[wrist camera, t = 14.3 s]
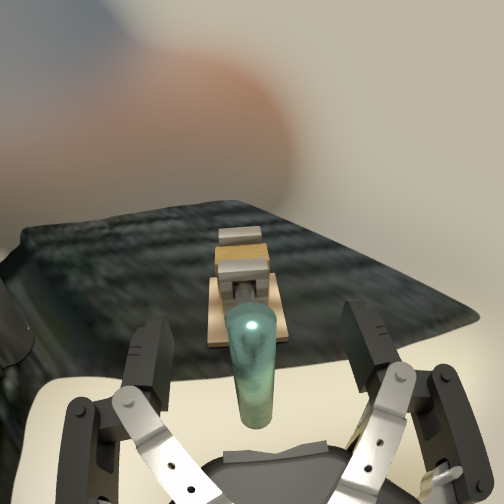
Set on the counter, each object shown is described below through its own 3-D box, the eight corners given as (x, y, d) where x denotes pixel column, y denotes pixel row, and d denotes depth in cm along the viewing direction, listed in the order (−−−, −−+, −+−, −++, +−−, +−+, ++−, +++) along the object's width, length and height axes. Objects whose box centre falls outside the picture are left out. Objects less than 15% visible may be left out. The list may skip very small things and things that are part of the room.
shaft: (273, 427, 26) (280, 337, 17) (241, 430, 26) (226, 341, 17) (257, 307, 40) (254, 206, 32) (233, 309, 40) (224, 208, 31)
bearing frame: (288, 340, 40) (293, 280, 34) (208, 347, 39) (196, 288, 33) (274, 277, 51) (275, 221, 45) (210, 282, 51) (202, 226, 45)
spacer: (269, 310, 44) (269, 260, 38) (221, 314, 43) (214, 264, 38) (266, 292, 47) (265, 243, 42) (221, 295, 47) (215, 247, 41)
